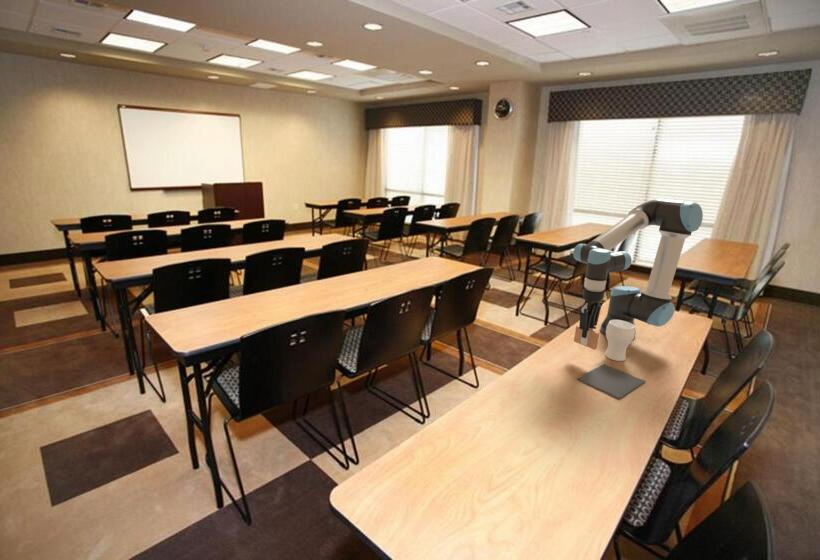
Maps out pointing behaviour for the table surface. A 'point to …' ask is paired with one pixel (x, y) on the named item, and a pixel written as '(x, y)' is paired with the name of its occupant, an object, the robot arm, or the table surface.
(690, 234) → the robot arm
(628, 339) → the cup
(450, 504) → the table surface
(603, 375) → the mat
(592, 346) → the slab
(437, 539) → the table surface
